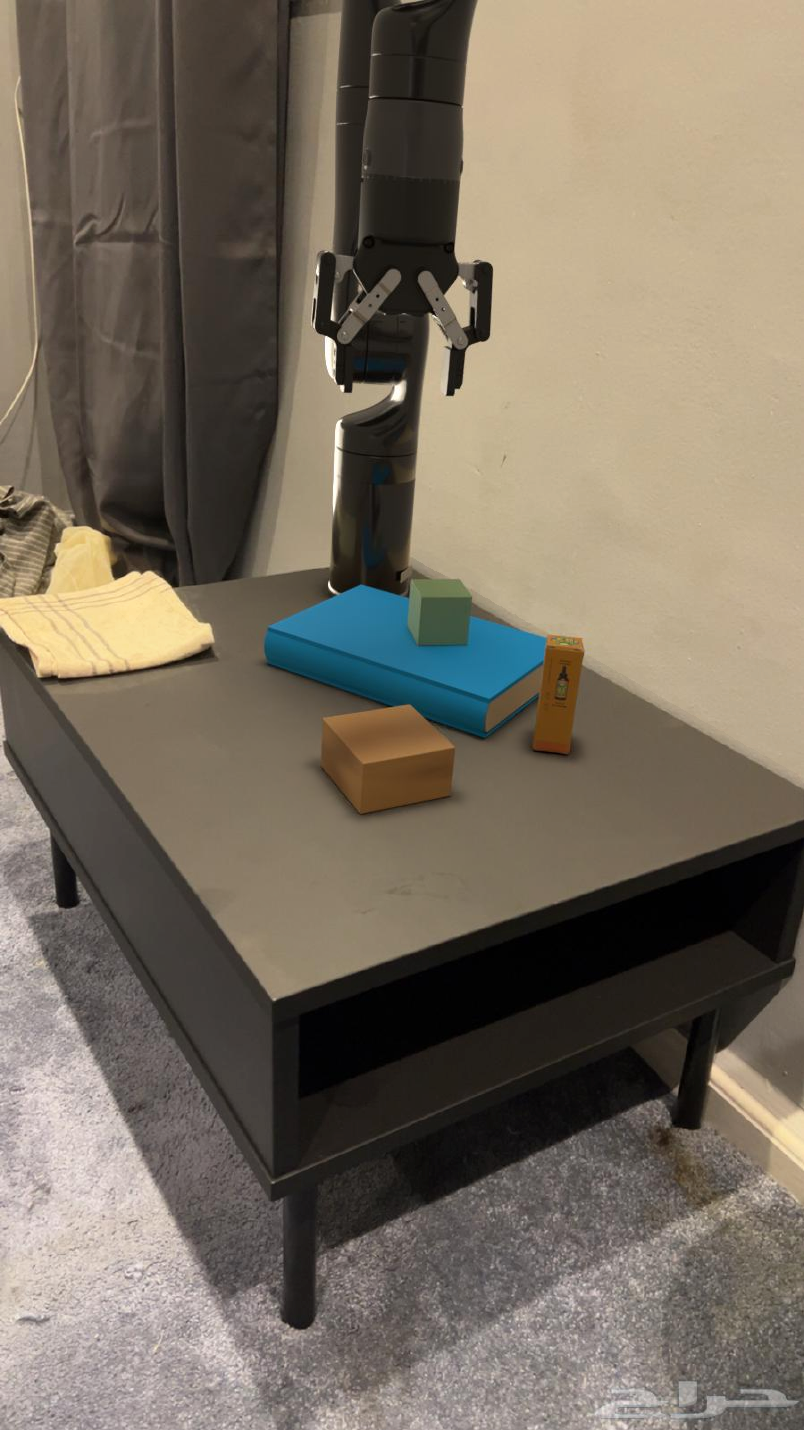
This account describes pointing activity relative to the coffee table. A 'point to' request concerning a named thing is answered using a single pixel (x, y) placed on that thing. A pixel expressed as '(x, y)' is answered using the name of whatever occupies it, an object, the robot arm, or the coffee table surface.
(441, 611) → the green block
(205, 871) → the coffee table surface
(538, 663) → the book
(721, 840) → the coffee table surface
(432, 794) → the oak block
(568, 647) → the supplement box
